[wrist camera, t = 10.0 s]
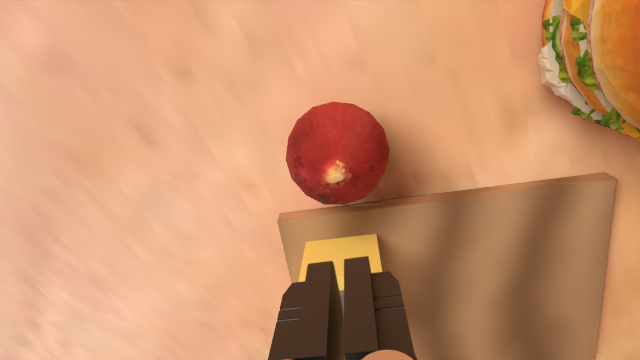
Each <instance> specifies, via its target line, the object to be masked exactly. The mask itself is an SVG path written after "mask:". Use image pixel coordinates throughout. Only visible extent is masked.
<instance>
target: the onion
mask: <svg viewBox="0 0 640 360" xmlns="http://www.w3.org/2000/svg"><path fill="white" fill-rule="evenodd" d="M388 155H389V146H388V142H387V139H386V135H385V131H384V129H383V128H382V126H381V125H380V124H379V123H378V122H377V121H376V119H375V118H374V117H373V116H372V115H371V114H370V113H369V112H367V111H365V110H363V109H362V108H360V107H358V106H356V105H354V104H348V103H340V102H330V103H327V104H323V105H319V106H315V107H312V108H311V109H310V110H309V111H308V112H306V113H305V114H304V115H303V116H302V117H301V118H299V119H298V120H297V122H296V124H295V126H294V128H293V130H292V132H291V134H290V136H289V138H288V146H287V153H286V162H287V165H288V168H289V172H290V175H291V178H292V179H293V181H294V182H295V183H296V184H297V185H298V186H299V187H300V189H301V190H302V191H303V192H304V193H305V194H306V195H307V196H309V197H311V198H313V199H315V200H317V201H319V202H321V203H323V204H347V203H350V202H353V201H356V200H359V199H362V198H363V197H365V196H366V195H367V194H369V193H370V192H371V191H372V190H374V189H375V188H376V187H377V185H378V183H379V181H380V179H381V178H382V176H383V174H384V172H385V170H386V166H387V161H388Z"/></svg>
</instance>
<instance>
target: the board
mask: <svg viewBox="0 0 640 360" xmlns="http://www.w3.org/2000/svg"><path fill="white" fill-rule="evenodd" d="M616 181H617V179H616V178H614V177H612V176H610V175H608V174H606V173H597V174H589V175H581V176H573V177H565V178H557V179H549V180H541V181H533V182H526V183H518V184H510V185H502V186H494V187H486V188H478V189H470V190H462V191H454V192H446V193H439V194H431V195H423V196H415V197H407V198H399V199H391V200H383V201H375V202H367V203H359V204H352V205H344V206H336V207H328V208H320V209H312V210H304V211H296V212H288V213H280V215H279V218H278V221H277V222H278V226H279V230H280V234H281V239H282V243H283V247H284V252H285V256H286V260H287V264H288V269H289V273H290V277H291V282H292V283H295V282H299V276H300V270H301V265H302V260H303V254H304V249H305V244H306V242H311V241H319V240H328V239H336V238H345V237H353V236H362V235H370V234H376V235H377V241H378V248H379V254H380V260H381V267H382V272H385V271H389V272H390V273H391V274H392V275H393V276H394V277H395V278H396V279H397V280H398V281H399V285H400V289H401V294H402V298H403V303H404V308H405V312H406V316H407V321H408V325H409V330H410V335H411V339H412V344H413V348H414V352H415V355H416V357H417V359H418V360H593V359H596V352H597V343H598V335H599V326H600V318H601V309H602V301H603V292H604V283H605V275H606V266H607V258H608V249H609V241H610V232H611V224H612V215H613V207H614V198H615V190H616ZM344 360H345V356H344Z"/></svg>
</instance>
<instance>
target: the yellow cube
mask: <svg viewBox="0 0 640 360" xmlns="http://www.w3.org/2000/svg"><path fill="white" fill-rule="evenodd" d="M364 256H368V257H369V262H370V268H371V273H377V272H382V267H381V260H380V254H379V248H378V241H377V235H376V234H370V235H362V236H353V237H345V238H336V239H328V240H319V241H311V242H306V244H305V249H304V254H303V260H302V265H301V270H300V276H299V282H304V281H305V278H306V272H307V266H308V264H310V263H318V262H326V261H333V263H334V267H335V272H336V277H337V282H338V287H339V292H340V296H341V301H342V307H343V315H344V259H349V258H357V257H364Z"/></svg>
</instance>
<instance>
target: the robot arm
mask: <svg viewBox="0 0 640 360" xmlns="http://www.w3.org/2000/svg"><path fill="white" fill-rule="evenodd" d="M277 321H278V322H277V323H276V327H275V332H274V336H273V340H272V344H271V349H270V353H269V357H268V360H344V356H345V360H418V359H417V357H416V355H415V352H414V348H413V344H412V339H411V335H410V330H409V325H408V321H407V316H406V312H405V308H404V303H403V298H402V294H401V289H400V285H399V281H398V280H397V279H396V278H395V277H394V276H393V275H392V274H391V273H390V272H389V271H385V272H377V273H371V268H370V262H369V257H368V256H364V257H357V258H349V259H344V315H343V307H342V301H341V296H340V292H339V287H338V282H337V277H336V272H335V267H334V263H333V261H326V262H318V263H310V264H308V266H307V272H306V278H305V281H304V282H295V283H292V284H291V285H290V287H289V288H288V289H287V291H286V292H285V293H284V294H283V297H282V302H281V306H280V311H279V314H278V319H277Z"/></svg>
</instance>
